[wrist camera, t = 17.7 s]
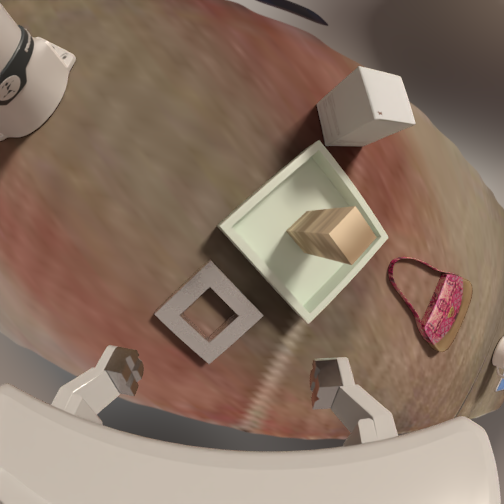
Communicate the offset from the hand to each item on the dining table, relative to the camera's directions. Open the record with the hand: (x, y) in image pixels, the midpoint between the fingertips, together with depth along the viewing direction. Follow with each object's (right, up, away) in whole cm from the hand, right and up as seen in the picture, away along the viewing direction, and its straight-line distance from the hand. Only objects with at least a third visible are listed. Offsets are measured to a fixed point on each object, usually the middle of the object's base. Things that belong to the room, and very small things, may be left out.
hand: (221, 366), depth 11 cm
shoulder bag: (+36, -4, +34) cm, 49 cm away
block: (+9, +8, +25) cm, 27 cm away
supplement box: (+15, +25, +26) cm, 39 cm away
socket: (-4, -3, +24) cm, 25 cm away
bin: (+9, +8, +26) cm, 28 cm away
